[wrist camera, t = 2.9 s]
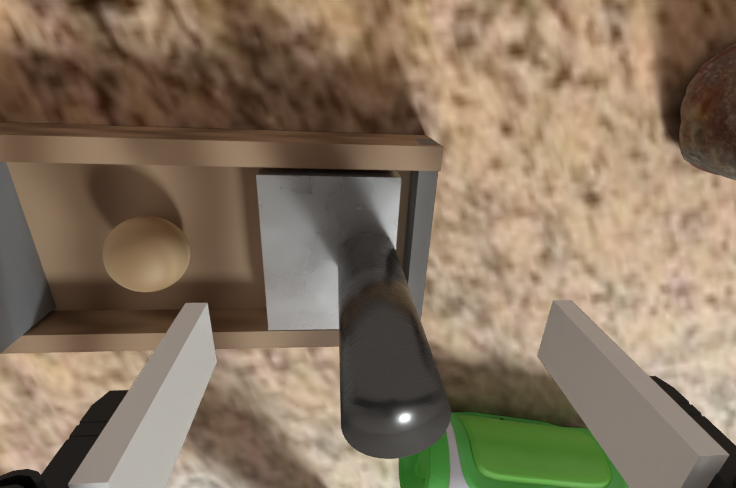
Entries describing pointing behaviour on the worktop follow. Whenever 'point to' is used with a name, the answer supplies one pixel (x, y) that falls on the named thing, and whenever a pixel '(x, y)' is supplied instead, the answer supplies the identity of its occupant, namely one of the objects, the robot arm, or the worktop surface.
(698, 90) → the candle
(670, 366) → the worktop surface
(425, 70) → the worktop surface
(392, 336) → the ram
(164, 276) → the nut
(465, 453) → the speaker
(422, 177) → the base
